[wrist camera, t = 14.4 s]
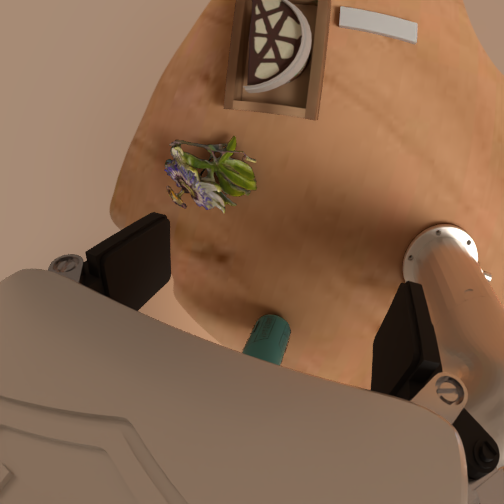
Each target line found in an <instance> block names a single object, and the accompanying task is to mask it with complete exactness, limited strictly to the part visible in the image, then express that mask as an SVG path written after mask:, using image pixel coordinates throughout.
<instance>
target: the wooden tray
mask: <svg viewBox="0 0 504 504" xmlns="http://www.w3.org/2000/svg"><path fill="white" fill-rule="evenodd" d="M288 1H289V2H291V3H292V4H294V5H295V6H296V7H297V8H298V9H299V10H300V11H301V12H302V13H303V15H304V16H305V17H306V19H307V22H308V24H309V26H310V30H311V39H312V42H311V50H310V59H309V62H308V65H307V68H306V69H305V70H304V71H303V73H302V74H301V75H300V76H299V77H298V78H296V79H295V80H293V81H291V82H290V83H286V84H283V85H281V86H279V87H277V88H275V89H272V90H269V91H265V92H259V93H248V92H247V91H246V90H245V88H244V87H243V86H248V85H247V79H248V61H249V32H250V24H251V14H252V0H236V5H235V12H234V19H233V27H232V35H231V44H230V52H229V61H228V70H227V80H226V89H225V100H224V109H233V110H244V111H254V112H263V113H271V114H278V115H286V116H292V117H298V118H305V119H310V120H318V114H319V107H320V100H321V92H322V85H323V77H324V69H325V60H326V51H327V42H328V33H329V23H330V12H331V0H288Z"/></svg>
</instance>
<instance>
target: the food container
mask: <svg viewBox="0 0 504 504" xmlns="http://www.w3.org/2000/svg"><path fill="white" fill-rule="evenodd" d="M311 42H312V39H311V30H310V26H309V24H308V22H307V19H306V17H305V16H304V15H303V13H302V12H301V11H300V10H299V9H298V8H297V7H296V6H295V5H294V4H292V3H291V2H289V1H288V0H252V14H251V24H250V32H249V61H248V79H247V85H248V86H243V87H244V88H245V90H246V91H247V92H248V93H259V92H265V91H269V90H272V89H275V88H277V87H279V86H281V85H283V84H286V83H290V82H291V81H293V80H295V79H296V78H298V77H299V76H300V75H301V74H302V73H303V71H304V70H305V69H306V68H307V65H308V62H309V59H310V50H311Z"/></svg>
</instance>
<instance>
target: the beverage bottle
mask: <svg viewBox="0 0 504 504" xmlns="http://www.w3.org/2000/svg"><path fill="white" fill-rule="evenodd" d="M290 331H291V330H290V327H289V324H288V323H287V322H286V321H285V320H284V319H283V318H281V317H279V316H277V315H264V316H262V317H261V318H260V319H259V320H258V321H257V323H256V325H255V326H254V329H253V331H252V332H251V335H249V336H250V337H249V340H248V339H247V340H248V342H247V341H246V343H247V344H245V348H243V352H242V353H244V354H246V355H249V356H252V357H255V358H258V359H261V360H264V361H267V362H271V363H274V364H277V365H280V364H281V361H282V360H283V359H282V358H283V355H284V354H285V353H284V352H286V350H285V349H286V348H287V347H286V346H288V344H287V342H289V341H288V339H289V336H290V333H291V332H290Z"/></svg>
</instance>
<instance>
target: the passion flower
mask: <svg viewBox="0 0 504 504" xmlns="http://www.w3.org/2000/svg"><path fill="white" fill-rule="evenodd" d="M181 144H188V145H193V146H198V147H203V148H205V149H206V150H207V151H208V152H209V153H210V158H209V160H203V159H199V158H197V157H195V156H194V155H191V154H190V153H187V152H184V151H183V150H182V149H181ZM169 145H171V146H172V147H171V151H170V152H171V155H172V156H173V158H174V159H173V160H171V159H168V160H167V161H166V162H165V167H166V168H167V169H165V171H166V172H167V175H169V176H171V178H172V179H173V180H174V181H175V182H176V184H177V186H178V187H182V189H181V191H180V192H179V193H178V194H176V193H174V192H173V190H172V189H171V187H169V186H167V192H168V193H169V196H170V197H171V198H172V200H173V202H175V203H176V204H178V205H179V206H180V207H183V208H186V207H187V206H186V204H185V203H184V202H183V201H182V200H181V198H180V197H181V196H182V194H183V193H190V194H191V196H192V198H193V200H194V201H195V202H196V204H197V205H198V206H200V207H201V206H203V207H204V208H205V209H206V210H208V209H212V208H214V206H216V207H218V208H219V209H221V211H222V212H223V213H225V205H226V204H229V205H231V206H236V205H237V204H235V203H233V202H232V201H231V200H230V199H229V198H227V197H226V195H224V194H223V193H222V192H221V189H222V190H223V192H224V193H225V194H229V195H231V196H236V197H237V196H239V197H240V196H242V195H244V194H245V195H246V196H249V194H250V192H251V191H250V190H257V187H256V179H255V176H254V173H253V170H252V168H251V167H250V166H249V165H248V164H246V163H245V162H243V161H240V160H236V159H232V158H230V156H232V155H233V153H234V152H236V153H243V154H244V156H243V158H242V160H246V161H250V162H253V163H256V160H255V159H252V158H249V157H247V156H246V154H245V153H244V152H243V151H235V148H236V137H235V136H233V138H232V139H231V140H230V142H229V143H228V144H217V145H212V144H208V145H202V144H197V143H191V142H186V141H183V140H175V141H174V142H172V143H171V144H169ZM224 146H226V147H225V148H224V149H223V147H224ZM215 152H220V153H221V155H220V157H219V158H216V157H215V155H214V154H215ZM211 158H213V161H212V162H209V161H210V160H211ZM196 168H201V169H203V171H202V172H201V173H200V175H199V173H198V171H197V169H196ZM205 169H207V171H208V174H207V176H206V177H204V178H202V177H201V176H202V174H203V172H204V171H205ZM214 172H215V173H216V176H217V177H218V179H219V183H220V185H219V184H217V183H216V182H215V178H214V175H213V174H214ZM234 184H235V185H234ZM241 187H242V188H241ZM244 188H246V189H244Z"/></svg>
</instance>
